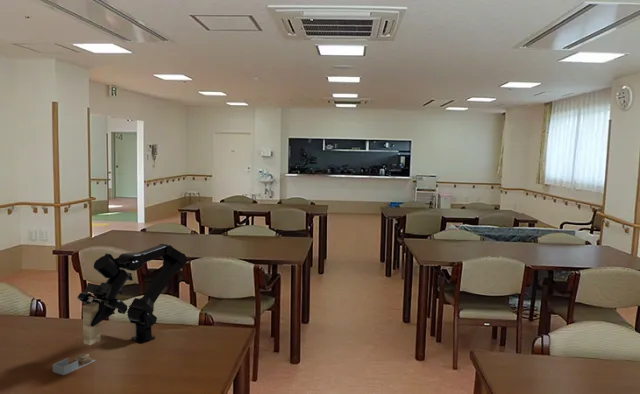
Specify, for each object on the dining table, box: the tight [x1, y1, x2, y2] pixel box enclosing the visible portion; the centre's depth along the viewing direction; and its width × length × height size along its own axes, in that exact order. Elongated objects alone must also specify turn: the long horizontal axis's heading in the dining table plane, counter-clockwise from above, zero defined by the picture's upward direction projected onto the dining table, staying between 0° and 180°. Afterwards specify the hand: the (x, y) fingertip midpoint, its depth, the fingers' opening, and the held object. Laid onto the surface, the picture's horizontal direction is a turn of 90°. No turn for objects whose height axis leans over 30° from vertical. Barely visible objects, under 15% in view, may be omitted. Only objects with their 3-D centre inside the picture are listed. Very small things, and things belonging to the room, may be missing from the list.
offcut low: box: [73, 356, 93, 367], centre depth 159 cm, size 4×4×1 cm
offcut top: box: [75, 353, 90, 361], centre depth 159 cm, size 3×3×1 cm
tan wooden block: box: [82, 302, 101, 346], centre depth 162 cm, size 4×3×13 cm
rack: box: [52, 357, 97, 376], centre depth 157 cm, size 12×5×4 cm, turn 155°
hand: (88, 325), depth 160 cm, fingers closed on tan wooden block, 3 cm apart
